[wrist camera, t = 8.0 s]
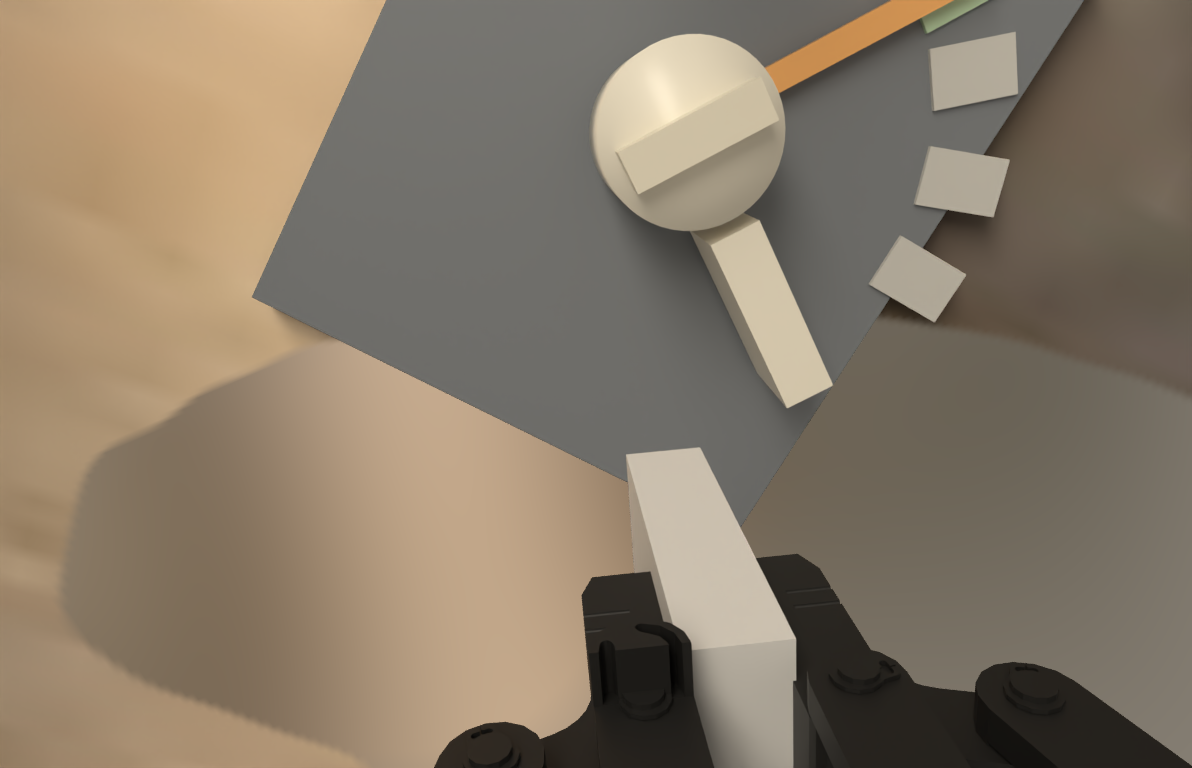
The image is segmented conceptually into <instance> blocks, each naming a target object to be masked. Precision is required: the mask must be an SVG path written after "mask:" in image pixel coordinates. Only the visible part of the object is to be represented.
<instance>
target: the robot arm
mask: <svg viewBox="0 0 1192 768" xmlns="http://www.w3.org/2000/svg"><path fill="white" fill-rule="evenodd" d="M626 461H627V476H628V489H629V504H630V517H631V533H632V548H633V562H634V573H630V574H620V575H611V576H601V577H592V579H591V581H590V582H589V584H588V585H587V587H586V589H585V590H584V592H583V594H582V605H583V616H584V626H585V636H586V637H585V638H586V648H587V659H588V670H589V680H590V690H591V701H590V703H589V705H588V707H587V710H586V711H585V712H584V713H583V715H582V716H581V717H580V718H579V719H578V720H577V721H576V722H574V723H573V724H571V725H570V726H569V727H568V728H566V729H564V730H561V731H559V732H557V733H555V734H553V735H550V736H547V737H545V738H542V739H539V737H538V735H537V734H536V733H534V732H532V731H531V730H529V729H528V728H526V727H525V726H522V725H518V724H513V723H508V722H499V723H487V724H483V725H480V726H477V727H474V728H472V729H469V730H467V731H465V732H463V733H462V734H460V735H459V736H458V737H456V738H455V739H453V740H452V741H451V742H449V744H448V745H447V747H446V748H445V749H444V751H443V752H442V754H441V755H440V756H439V758H438V760H437V763H436V765H435V767H434V768H1192V766H1191V765H1190V764H1189V763H1187V762H1186V761H1184V760H1183V759H1182V758H1180V757H1179V756H1177V755H1176V754H1175V753H1173V752H1172V751H1171V750H1169V749H1168V748H1166V747H1165V746H1164V745H1162V744H1161V743H1160V742H1158V741H1157V740H1155V739H1154V738H1153V737H1151V736H1150V735H1149V734H1147V733H1146V732H1144V731H1143V730H1142V729H1140V728H1139V727H1137V726H1136V725H1135V724H1133V723H1132V722H1131V721H1129V720H1128V719H1126V718H1125V717H1124V716H1122V715H1121V714H1119V713H1118V712H1117V711H1115V710H1114V709H1112V708H1111V707H1110V706H1108V705H1107V704H1106V703H1104V702H1103V701H1102V700H1100V699H1099V698H1097V697H1096V696H1095V695H1093V694H1092V693H1091V692H1089V691H1088V690H1086V689H1085V688H1083V687H1082V686H1081V685H1080V684H1078V683H1076V682H1075V681H1074V680H1072V679H1070V678H1068V677H1066V676H1065V675H1063V674H1061V673H1059V672H1057V671H1055V670H1052V669H1048V668H1045V667H1042V666H1038V665H1035V664H1027V663H1016V662H1010V663H1003V664H996V665H993V666H991V667H989V668H988V669H986V670H984V671H982V672H981V674H980V676H979V677H978V679H977V681H976V686H975V692H967V691H957V690H948V689H939V688H933V687H928V686H922V685H919V684H916V683H914V681H913V680H912V678H911V677H910V675H909V674H908V673H907V671H906V670H905V669H904V668H903V667H902V666H901V665H900V664H899V663H898V662H897V661H896V660H893V659H891V658H890V657H888V656H886V655H884V654H882V653H880V652H877V651H872V650H870V648H869V646H868V645H867V643H866V642H865V640H864V639H863V637H862V635H861V634H860V632H859V630H858V629H857V627H856V626H855V624H854V623H853V621H852V620H851V618H850V616H849V615H848V613H847V611H846V610H845V608H844V607H843V605H842V604H840V601H839V599H838V598H837V596H836V594H835V592H834V591H833V590H832V589H831V588H830V585H829V583H828V581H827V580H826V578H825V577H824V575H823V573H822V572H821V570H820V569H819V568H818V567H817V566H815V565H814V564H812V563H811V562H809V561H808V560H806V559H805V558H803V557H801V556H800V555H798V554H792V555H783V556H772V557H763V558H755V556H754V554H753V552H752V550H751V548H750V546H749V544H748V542H747V540H746V538H745V536H744V534H743V532H742V530H741V528H740V526H739V524H738V522H737V520H736V518H735V516H734V514H733V512H732V510H731V508H730V506H729V504H728V502H727V500H726V498H725V496H724V494H723V492H722V490H721V488H720V486H719V484H718V482H717V480H716V478H715V476H714V474H713V472H712V470H711V468H710V466H709V464H708V462H707V460H706V458H705V456H704V454H703V452H702V450H701V448H700V447H698V448H688V449H677V450H667V451H657V452H647V453H636V454H626Z"/></svg>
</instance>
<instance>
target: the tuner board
mask: <svg viewBox="0 0 1192 768" xmlns="http://www.w3.org/2000/svg"><path fill="white" fill-rule="evenodd" d="M888 1H890V0H386V2H385V4H384V7H383V9H382V11H381V13H380V15H379V18H378V20H377V22H376V24H375V26H374V29H373V31H372V33H371V35H370V38H369V40H368V42H367V44H366V46H365V49H364V51H363V53H362V55H361V57H360V60H359V62H358V64H357V66H356V68H355V71H354V73H353V75H352V77H351V79H350V82H349V84H348V86H347V88H346V91H345V93H344V95H343V97H342V99H341V102H340V104H339V106H338V108H337V110H336V113H335V115H334V117H333V119H332V121H331V124H330V126H329V128H328V130H327V132H326V135H325V137H324V139H323V141H322V143H321V146H320V148H319V150H318V152H317V155H316V157H315V159H314V161H313V163H312V166H311V168H310V170H309V172H308V174H307V177H306V179H305V181H304V183H303V185H302V188H301V190H300V192H299V194H298V196H297V199H296V201H295V203H294V205H293V208H292V210H291V212H290V214H289V216H288V219H287V221H286V223H285V225H284V227H283V230H282V232H281V234H280V236H279V238H278V241H277V243H276V245H275V247H274V249H273V252H272V254H271V256H270V258H269V260H268V263H267V265H266V267H265V269H264V272H263V274H262V276H261V278H260V280H259V283H258V285H257V287H256V289H255V291H254V294H253V296H252V298H254V299H256V300H258V301H260V302H262V303H264V304H267V305H269V306H271V307H273V308H275V309H277V310H279V311H281V312H283V313H285V314H287V315H289V316H291V317H293V318H295V319H297V320H299V321H301V322H303V323H305V324H307V325H309V326H311V327H313V328H315V329H317V330H319V331H321V332H323V333H325V334H327V335H329V336H331V337H333V338H335V339H338V340H340V341H342V342H344V343H346V344H348V345H350V346H352V347H354V348H356V349H358V350H360V351H362V352H364V353H366V354H368V355H370V356H372V357H374V358H376V359H378V360H380V361H382V362H384V363H386V364H388V365H390V366H392V367H394V368H397V369H398V370H400V371H402V372H404V373H407V374H409V375H411V376H413V377H415V378H417V379H419V380H421V381H423V382H425V383H427V384H429V385H431V386H433V387H435V388H437V389H439V390H441V391H443V392H446V393H447V394H449V395H451V396H453V397H455V398H457V399H459V400H461V401H463V402H465V403H467V404H469V405H472V406H474V407H475V408H478V409H480V410H482V411H484V412H486V413H488V414H490V415H492V416H494V417H496V418H498V419H500V420H502V421H504V422H506V423H508V424H510V425H512V426H514V427H516V428H518V429H520V430H522V431H524V432H526V433H528V434H531V435H532V436H534V437H536V438H538V439H540V440H542V441H545V442H547V443H549V444H551V445H553V446H555V447H557V448H559V449H561V450H563V451H565V452H567V453H569V454H571V455H573V456H575V457H577V458H579V459H581V460H583V461H585V462H587V463H589V464H591V465H593V466H596V467H597V468H599V469H601V470H603V471H606V472H608V473H609V474H612V475H613V476H615V477H618V478H620V479H622V480H624V481H626V482H628V476H627V461H626V454H636V453H647V452H657V451H667V450H677V449H688V448H698V447H700V448H701V450H702V452H703V454H704V456H705V458H706V460H707V462H708V464H709V466H710V468H711V470H712V472H713V474H714V476H715V478H716V480H717V482H718V484H719V486H720V488H721V490H722V492H723V494H724V496H725V498H726V500H727V502H728V504H729V506H730V508H731V510H732V512H733V514H734V516H735V518H736V520H737V522H738V524H739V526H740V528H741V526H742V524H743V523H744V521H745V520H746V518H747V516H748V515H749V514H750V512H751V511H752V509H753V508H754V506H755V504H756V503H757V501H758V500H759V498H760V497H761V495H762V494H763V492H764V491H765V489H766V488H767V486H768V484H769V483H770V481H771V480H772V478H773V477H774V475H775V474H776V472H777V471H778V469H779V468H780V466H781V465H782V463H783V461H784V460H785V458H786V457H787V455H788V454H789V452H790V451H791V449H792V448H793V446H794V445H795V443H796V441H797V440H798V438H799V437H800V435H801V434H802V432H803V431H804V429H805V428H806V426H807V425H808V423H809V422H810V420H811V418H812V417H813V415H814V414H815V412H816V411H817V409H818V407H819V406H820V405H821V403H822V402H823V400H824V399H825V397H826V395H827V394H828V392H829V391H830V389H831V388H832V386H831V387H829V388H827V389H825V390H823V391H821V392H819V393H817V394H815V395H813V396H811V397H809V398H807V399H805V400H803V401H801V402H799V403H797V404H795V405H793V406H791V407H789V408H786V407H785V405H784V404H783V403H782V402H781V401H780V399H779V398H778V397H777V396H776V395H775V394H774V392H773V391H772V390H771V389H770V388H769V386H768V385H767V384H766V383H765V382H764V381H763V379H762V378H761V377H760V376H759V375H758V374H757V372H756V369H755V367H754V365H753V363H752V361H751V359H750V357H749V355H748V353H747V351H746V348H745V346H744V344H743V342H742V340H741V338H740V336H739V334H738V332H737V329H736V327H735V325H734V323H733V321H732V319H731V317H730V315H729V313H728V310H727V308H726V306H725V304H724V302H723V300H722V298H721V296H720V294H719V292H718V289H717V287H716V285H715V283H714V281H713V279H712V277H711V275H710V273H709V270H708V268H707V266H706V264H705V262H704V260H703V258H702V256H701V254H700V251H699V249H698V247H697V245H696V243H695V241H694V239H693V237H692V235H691V233H690V231H680V230H672V229H668V228H664V227H660V226H658V225H655V224H653V223H650V222H648V221H647V220H645V219H643V218H641V217H640V216H638V215H637V214H636V213H634V212H633V211H632V210H630V209H629V208H628V207H627V206H626V205H625V204H624V203H623V202H622V201H621V200H620V199H619V198H618V197H617V196H616V195H615V194H614V193H613V192H612V190H611V189H610V188H609V187H608V186H607V184H606V183H605V182H604V181H603V179H602V177H601V176H600V174H599V172H598V170H597V168H596V165H595V163H594V160H593V157H592V153H591V148H590V141H589V126H590V117H591V113H592V109H593V106H594V103H595V100H596V98H597V95H598V94H599V92H600V90H601V88H602V86H603V85H604V83H605V82H606V81H607V79H608V78H609V77H610V75H611V74H612V73H613V72H614V71H615V70H616V69H617V68H618V67H620V66H621V65H622V64H623V63H624V62H626V61H627V60H629V59H630V58H632V57H633V56H635V55H636V54H638V53H639V52H641V51H642V50H644V49H645V48H647V47H648V46H650V45H652V44H654V43H656V42H658V41H661V40H663V39H666V38H670V37H673V36H678V35H684V34H705V35H712V36H716V37H719V38H723V39H726V40H728V41H730V42H733V43H735V44H737V45H739V46H740V47H742V48H743V49H745V50H746V51H748V52H749V53H750V54H751V55H753V56H754V57H755V58H756V59H757V60H758V61H759V62H760V63H761V64H762V66H763V67H766V66H768V65H770V64H772V63H774V62H776V61H777V60H779V59H781V58H783V57H785V56H787V55H789V54H791V53H792V52H794V51H796V50H798V49H800V48H802V47H804V46H806V45H807V44H809V43H811V42H813V41H815V40H817V39H819V38H821V37H822V36H824V35H826V34H828V33H830V32H832V31H834V30H836V29H837V28H839V27H841V26H843V25H845V24H847V23H849V22H850V21H852V20H854V19H856V18H858V17H860V16H862V15H864V14H865V13H867V12H869V11H871V10H873V9H875V8H877V7H879V6H880V5H882V4H884V3H886V2H888ZM1083 1H1084V0H954V1H952V2H950V3H948V4H946V5H944V6H942V7H941V8H939V9H937V10H935V11H933V12H931V13H929V14H927V15H925V16H924V17H922V18H920V19H918V20H916V21H914V22H912V23H910V24H909V25H907V26H905V27H903V28H901V29H899V30H897V31H895V32H893V33H892V34H890V35H888V36H886V37H884V38H882V39H880V40H878V41H876V42H875V43H873V44H871V45H869V46H867V47H865V48H863V49H861V50H859V51H858V52H856V53H854V54H852V55H850V56H848V57H846V58H844V59H843V60H841V61H839V62H837V63H835V64H833V65H831V66H829V67H827V68H826V69H824V70H822V71H820V72H818V73H816V74H814V75H812V76H810V77H809V78H807V79H805V80H803V81H801V82H799V83H797V84H795V85H793V86H792V87H790V88H788V89H786V90H784V91H782V92H780V93H779V95H780V98H781V101H782V105H783V110H784V115H785V143H784V148H783V154H782V157H781V160H780V164H779V166H778V169H777V171H776V173H775V176H774V178H773V179H772V181H771V183H770V184H769V186H768V188H767V189H766V190H765V192H764V193H763V194H762V196H761V197H760V198H759V199H758V200H757V201H756V202H755V203H754V204H753V205H752V206H751V207H750V208H749V209H747V210H746V211H745V212H744V213H745V214H747V215H749V216H751V217H753V218H756V219H758V220H760V222H761V225H762V227H763V229H764V231H765V234H766V236H767V238H768V240H769V243H770V245H771V247H772V249H773V252H774V254H775V256H776V258H777V260H778V263H779V265H780V267H781V269H782V272H783V274H784V276H785V278H786V281H787V283H788V285H789V287H790V290H791V292H792V294H793V296H794V299H795V301H796V303H797V305H798V308H799V310H800V312H801V314H802V317H803V319H804V321H805V323H806V325H807V328H808V330H809V332H810V334H811V337H812V339H813V341H814V343H815V346H816V348H817V350H818V352H819V355H820V357H821V359H822V361H823V364H824V366H825V368H826V370H827V373H828V375H829V377H830V379H831V381H832V384H833V385H834V383H835V382H836V380H837V379H838V377H839V376H840V374H841V372H842V371H843V369H844V368H845V366H846V365H847V363H848V362H849V360H850V359H851V357H852V356H853V354H854V353H855V351H856V349H857V348H858V346H859V345H860V343H861V342H862V340H863V339H864V337H865V336H866V334H867V333H868V331H869V329H870V328H871V326H872V325H873V323H874V322H875V320H876V319H877V317H878V316H879V314H880V313H881V311H882V310H883V308H884V306H885V305H886V303H887V302H888V300H889V299H890V297H891V298H893V299H895V300H897V301H898V302H900V303H902V304H903V305H905V306H907V307H909V308H910V309H912V310H914V311H915V312H917V313H919V314H921V315H922V316H924V317H926V318H928V319H929V320H931V321H933V322H935V321H936V319H937V318H938V317H939V315H940V314H941V312H942V311H943V309H944V308H945V306H946V305H947V303H948V302H949V300H950V299H951V297H952V296H953V294H954V293H955V291H956V290H957V288H958V287H959V285H960V284H961V282H962V281H963V279H964V278H965V276H966V274H964V273H963V272H961V271H959V270H958V269H956V268H954V267H953V266H951V265H949V264H948V263H946V262H944V261H943V260H941V259H939V258H938V257H936V256H934V255H933V254H931V253H929V252H928V251H926V250H924V249H923V247H924V245H925V244H926V242H927V240H928V239H929V237H930V236H931V234H932V233H933V231H934V230H935V228H936V227H937V225H938V224H939V222H940V220H941V219H942V217H943V216H944V214H945V213H946V211H947V210H952V211H958V212H964V213H970V214H976V215H982V216H988V217H994V213H995V210H996V206H997V203H998V199H999V196H1000V193H1001V189H1002V186H1003V182H1004V179H1005V175H1006V172H1007V168H1008V165H1009V161H1010V160H1008V159H1003V158H997V157H991V156H985V155H983V154H984V153H985V151H986V150H987V148H988V147H989V145H990V144H991V142H992V141H993V139H994V138H995V136H996V135H997V133H998V131H999V130H1000V128H1001V127H1002V125H1003V124H1004V122H1005V121H1006V119H1007V118H1008V116H1009V115H1010V113H1011V111H1012V110H1013V108H1014V107H1015V105H1016V104H1017V102H1018V101H1019V99H1020V98H1021V96H1022V95H1023V93H1024V92H1025V90H1026V88H1027V87H1028V85H1029V84H1030V82H1031V81H1032V79H1033V78H1034V76H1035V75H1036V73H1037V72H1038V70H1039V68H1040V67H1041V65H1042V64H1043V62H1044V61H1045V59H1046V58H1047V56H1048V55H1049V53H1050V52H1051V50H1052V49H1053V47H1054V45H1055V44H1056V42H1057V41H1058V39H1059V38H1060V36H1061V35H1062V33H1063V32H1064V30H1065V29H1066V27H1067V26H1068V24H1069V22H1070V21H1071V19H1072V18H1073V16H1074V15H1075V13H1076V12H1077V10H1078V9H1079V7H1080V6H1081V4H1082V2H1083Z"/></svg>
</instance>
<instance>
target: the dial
mask: <svg viewBox="0 0 1192 768" xmlns="http://www.w3.org/2000/svg"><path fill="white" fill-rule="evenodd" d="M952 1H954V0H890V1H888V2H886V3H884V4H882V5H880V6H879V7H877V8H875V9H873V10H871V11H869V12H867V13H865V14H864V15H862V16H860V17H858V18H856V19H854V20H852V21H850V22H849V23H847V24H845V25H843V26H841V27H839V28H837V29H836V30H834V31H832V32H830V33H828V34H826V35H824V36H822V37H821V38H819V39H817V40H815V41H813V42H811V43H809V44H807V45H806V46H804V47H802V48H800V49H798V50H796V51H794V52H792V53H791V54H789V55H787V56H785V57H783V58H781V59H779V60H777V61H776V62H774V63H772V64H770V65H768V66H766V67H763V66H762V64H761V63H760V62H759V61H758V60H757V59H756V58H755V57H754V56H753V55H751V54H750V53H749V52H748V51H746V50H745V49H743V48H742V47H740V46H739V45H737V44H735V43H733V42H730V41H728V40H726V39H723V38H719V37H716V36H712V35H705V34H684V35H678V36H673V37H670V38H666V39H663V40H661V41H658V42H656V43H654V44H652V45H650V46H648V47H647V48H645V49H644V50H642V51H641V52H639V53H638V54H636V55H635V56H633V57H632V58H630V59H629V60H627V61H626V62H624V63H623V64H622V65H621V66H620V67H618V68H617V69H616V70H615V71H614V72H613V73H612V74H611V75H610V77H609V78H608V79H607V81H606V82H605V83H604V85H603V86H602V88H601V90H600V92H599V94H598V95H597V98H596V100H595V103H594V106H593V109H592V113H591V117H590V126H589V141H590V148H591V153H592V157H593V160H594V163H595V165H596V168H597V170H598V172H599V174H600V176H601V177H602V179H603V181H604V182H605V183H606V184H607V186H608V187H609V188H610V189H611V190H612V192H613V193H614V194H615V195H616V196H617V197H618V198H619V199H620V200H621V201H622V202H623V203H624V204H625V205H626V206H627V207H628V208H629V209H630V210H632V211H633V212H634V213H636V214H637V215H638V216H640V217H641V218H643V219H645V220H647V221H648V222H650V223H653V224H655V225H658V226H660V227H664V228H668V229H672V230H680V231H690V233H691V235H692V237H693V239H694V241H695V243H696V245H697V247H698V249H699V251H700V254H701V256H702V258H703V260H704V262H705V264H706V266H707V268H708V270H709V273H710V275H711V277H712V279H713V281H714V283H715V285H716V287H717V289H718V292H719V294H720V296H721V298H722V300H723V302H724V304H725V306H726V308H727V310H728V313H729V315H730V317H731V319H732V321H733V323H734V325H735V327H736V329H737V332H738V334H739V336H740V338H741V340H742V342H743V344H744V346H745V348H746V351H747V353H748V355H749V357H750V359H751V361H752V363H753V365H754V367H755V369H756V372H757V374H758V375H759V376H760V377H761V378H762V379H763V381H764V382H765V383H766V384H767V385H768V386H769V388H770V389H771V390H772V391H773V392H774V394H775V395H776V396H777V397H778V398H779V399H780V401H781V402H782V403H783V404H784V405H785V407H786V408H789V407H791V406H793V405H795V404H797V403H799V402H801V401H803V400H805V399H807V398H809V397H811V396H813V395H815V394H817V393H819V392H821V391H823V390H825V389H827V388H829V387H831V386H833V384H832V381H831V379H830V377H829V375H828V373H827V370H826V368H825V366H824V364H823V361H822V359H821V357H820V355H819V352H818V350H817V348H816V346H815V343H814V341H813V339H812V337H811V334H810V332H809V330H808V328H807V325H806V323H805V321H804V319H803V317H802V314H801V312H800V310H799V308H798V305H797V303H796V301H795V299H794V296H793V294H792V292H791V290H790V287H789V285H788V283H787V281H786V278H785V276H784V274H783V272H782V269H781V267H780V265H779V263H778V260H777V258H776V256H775V254H774V252H773V249H772V247H771V245H770V243H769V240H768V238H767V236H766V234H765V231H764V229H763V227H762V225H761V222H760V220H758V219H756V218H753V217H751V216H749V215H747V214H745V213H744V212H745V211H746V210H747V209H749V208H750V207H751V206H752V205H753V204H754V203H755V202H756V201H757V200H758V199H759V198H760V197H761V196H762V194H763V193H764V192H765V190H766V189H767V188H768V186H769V184H770V183H771V181H772V179H773V178H774V176H775V173H776V171H777V169H778V166H779V164H780V160H781V157H782V154H783V148H784V143H785V115H784V110H783V105H782V101H781V98H780V95H779V93H780V92H782V91H784V90H786V89H788V88H790V87H792V86H793V85H795V84H797V83H799V82H801V81H803V80H805V79H807V78H809V77H810V76H812V75H814V74H816V73H818V72H820V71H822V70H824V69H826V68H827V67H829V66H831V65H833V64H835V63H837V62H839V61H841V60H843V59H844V58H846V57H848V56H850V55H852V54H854V53H856V52H858V51H859V50H861V49H863V48H865V47H867V46H869V45H871V44H873V43H875V42H876V41H878V40H880V39H882V38H884V37H886V36H888V35H890V34H892V33H893V32H895V31H897V30H899V29H901V28H903V27H905V26H907V25H909V24H910V23H912V22H914V21H916V20H918V19H920V18H922V17H924V16H925V15H927V14H929V13H931V12H933V11H935V10H937V9H939V8H941V7H942V6H944V5H946V4H948V3H950V2H952Z"/></svg>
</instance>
